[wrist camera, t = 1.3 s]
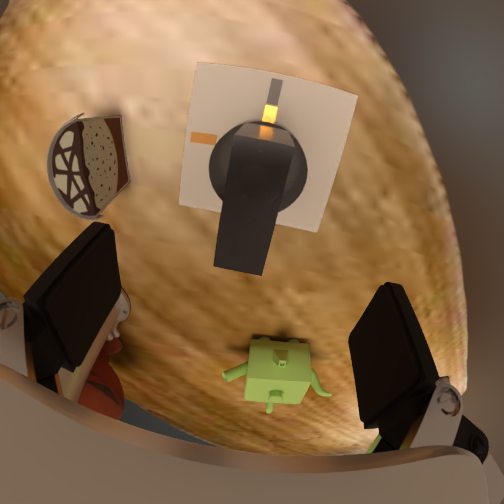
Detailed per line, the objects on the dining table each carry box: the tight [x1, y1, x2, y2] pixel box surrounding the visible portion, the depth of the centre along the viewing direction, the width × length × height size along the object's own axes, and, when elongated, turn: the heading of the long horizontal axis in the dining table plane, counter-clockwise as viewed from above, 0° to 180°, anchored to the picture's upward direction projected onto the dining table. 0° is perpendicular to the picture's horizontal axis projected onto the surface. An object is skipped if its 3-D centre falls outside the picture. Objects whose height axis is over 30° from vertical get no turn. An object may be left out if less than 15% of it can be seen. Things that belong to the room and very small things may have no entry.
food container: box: [47, 113, 130, 220], centre depth 27 cm, size 12×6×10 cm, turn 1°
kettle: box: [222, 337, 333, 413], centre depth 46 cm, size 15×14×11 cm
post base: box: [179, 62, 358, 233], centre depth 28 cm, size 18×18×7 cm
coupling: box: [209, 104, 308, 276], centre depth 19 cm, size 9×8×12 cm
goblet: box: [77, 336, 124, 420], centre depth 44 cm, size 19×19×25 cm
